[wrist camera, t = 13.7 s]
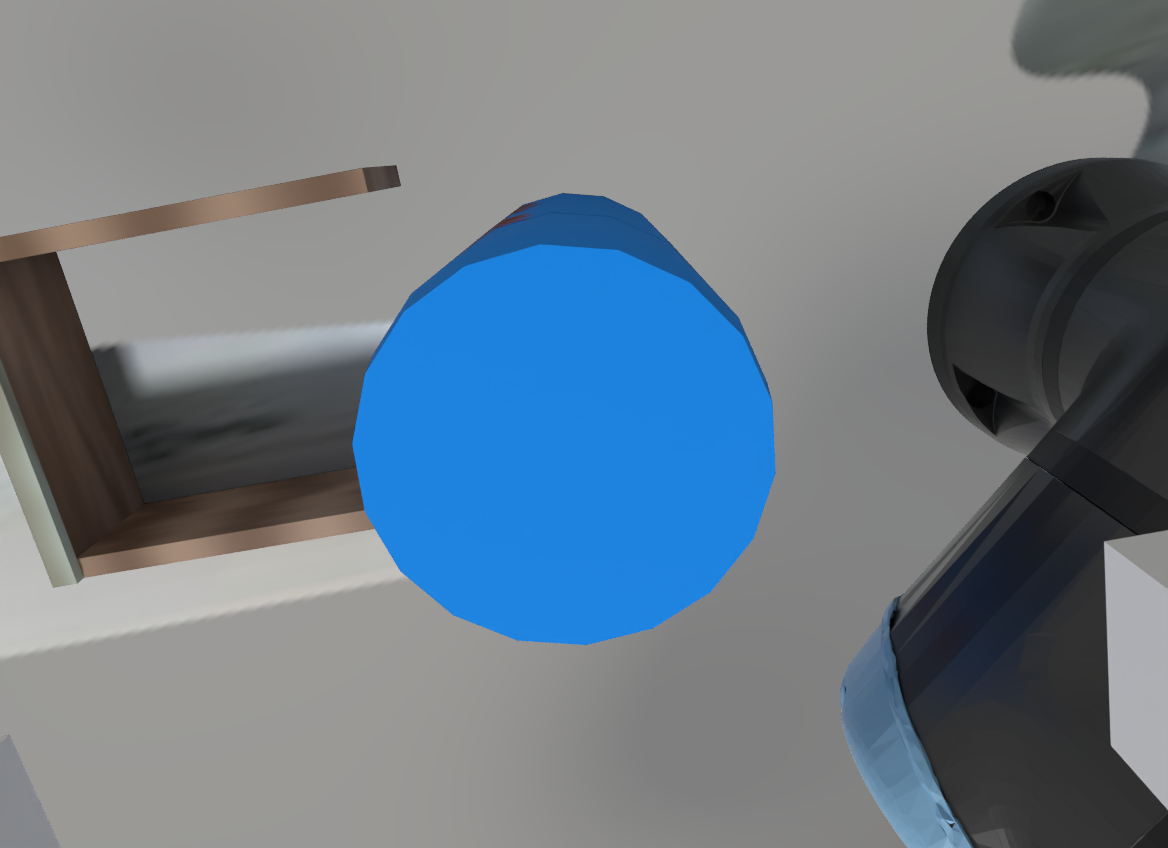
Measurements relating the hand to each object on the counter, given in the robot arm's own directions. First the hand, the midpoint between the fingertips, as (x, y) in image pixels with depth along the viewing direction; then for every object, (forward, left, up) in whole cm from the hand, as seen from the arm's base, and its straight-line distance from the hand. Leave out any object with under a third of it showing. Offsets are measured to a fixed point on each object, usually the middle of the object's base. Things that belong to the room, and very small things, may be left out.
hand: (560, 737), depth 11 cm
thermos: (0, +1, -37) cm, 37 cm away
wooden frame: (+16, +6, -37) cm, 41 cm away
